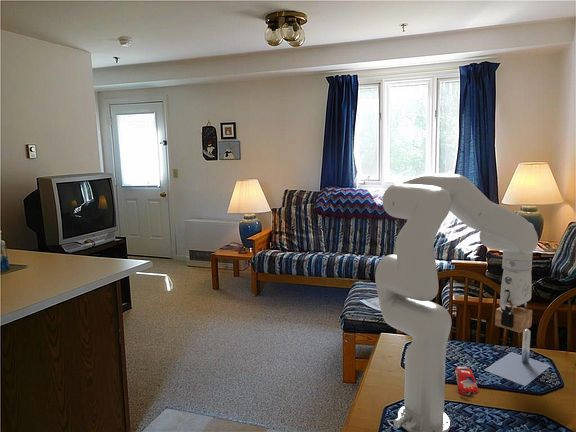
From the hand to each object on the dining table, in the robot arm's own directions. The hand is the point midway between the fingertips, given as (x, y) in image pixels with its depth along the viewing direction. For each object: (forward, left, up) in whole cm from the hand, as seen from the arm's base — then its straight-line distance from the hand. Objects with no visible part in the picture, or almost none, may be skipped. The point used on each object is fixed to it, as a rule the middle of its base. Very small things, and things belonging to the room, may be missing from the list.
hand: (513, 322), depth 126 cm
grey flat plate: (+5, 0, -17) cm, 18 cm away
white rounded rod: (+10, 0, -16) cm, 19 cm away
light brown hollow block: (0, 0, -1) cm, 1 cm away
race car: (-14, +6, -18) cm, 24 cm away
